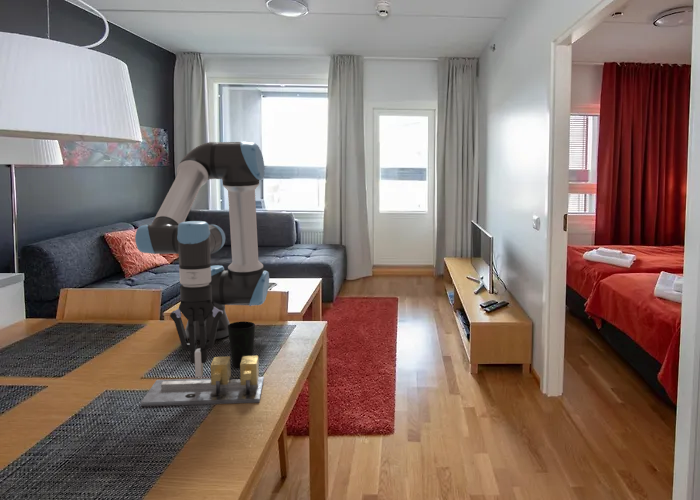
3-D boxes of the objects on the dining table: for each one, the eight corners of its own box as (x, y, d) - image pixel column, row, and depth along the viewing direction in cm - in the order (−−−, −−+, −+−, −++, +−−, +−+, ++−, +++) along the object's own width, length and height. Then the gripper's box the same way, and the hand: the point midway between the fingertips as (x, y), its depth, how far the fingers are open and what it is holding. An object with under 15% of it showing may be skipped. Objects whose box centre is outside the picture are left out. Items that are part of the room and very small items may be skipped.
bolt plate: (156, 383, 144) (156, 379, 144) (263, 380, 146) (263, 376, 146) (141, 406, 130) (140, 402, 130) (259, 402, 132) (259, 398, 132)
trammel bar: (165, 383, 141) (164, 358, 140) (259, 381, 143) (258, 355, 142) (155, 399, 132) (153, 371, 131) (255, 396, 134) (255, 368, 133)
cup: (249, 371, 153) (248, 329, 151) (224, 369, 154) (223, 328, 153) (259, 361, 160) (258, 322, 159) (235, 359, 162) (234, 320, 160)
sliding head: (215, 381, 142) (214, 356, 141) (230, 380, 142) (230, 356, 141) (209, 396, 133) (208, 370, 132) (225, 395, 133) (224, 369, 132)
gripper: (165, 287, 131) (169, 381, 134) (220, 286, 132) (223, 379, 135) (172, 281, 138) (176, 370, 142) (224, 280, 139) (227, 368, 143)
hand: (199, 374), depth 138 cm, fingers closed
